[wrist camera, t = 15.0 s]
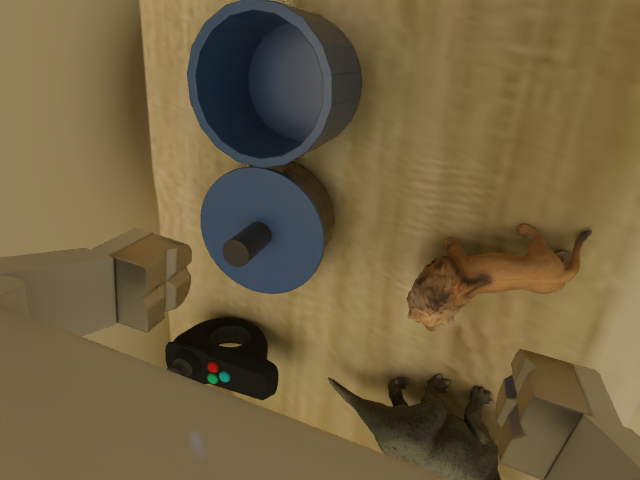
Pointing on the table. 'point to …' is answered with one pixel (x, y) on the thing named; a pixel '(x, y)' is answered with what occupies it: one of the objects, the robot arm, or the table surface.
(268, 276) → the lid
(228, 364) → the controller
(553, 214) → the table surface
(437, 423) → the toy dinosaur
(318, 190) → the pan
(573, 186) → the table surface
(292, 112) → the pot
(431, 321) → the lion figurine
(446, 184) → the table surface
